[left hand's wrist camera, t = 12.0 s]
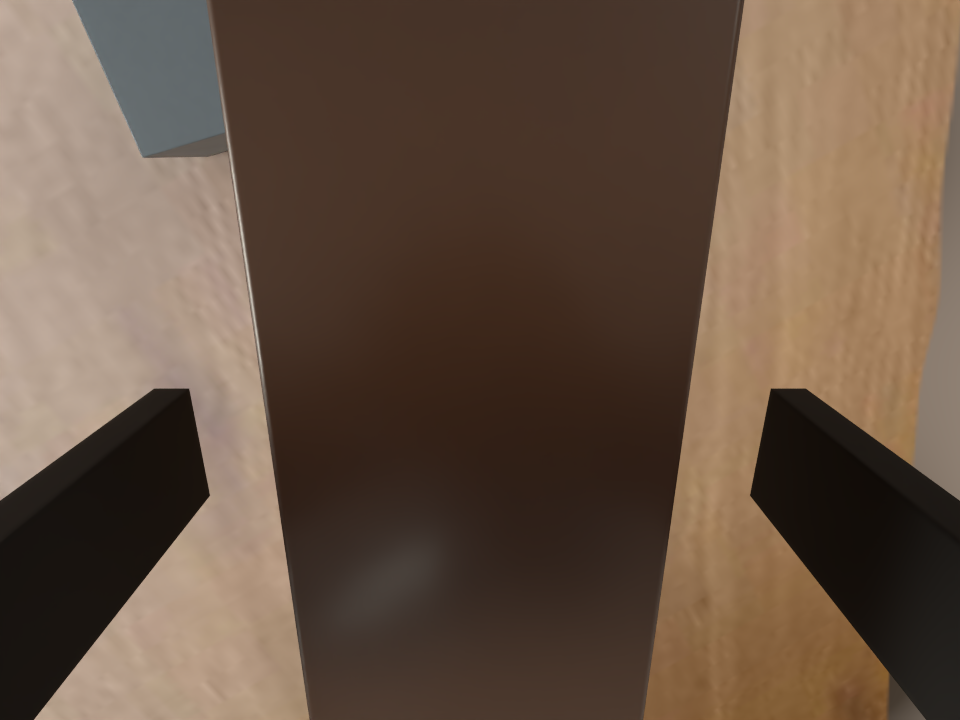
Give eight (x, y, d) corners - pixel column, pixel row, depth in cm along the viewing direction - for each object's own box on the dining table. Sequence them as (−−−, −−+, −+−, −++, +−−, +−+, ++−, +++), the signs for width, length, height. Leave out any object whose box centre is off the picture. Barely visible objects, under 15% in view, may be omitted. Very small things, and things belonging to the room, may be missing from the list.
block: (316, 124, 24) (275, 117, 19) (207, 156, 24) (142, 158, 20) (270, -9, 22) (214, -52, 17) (154, 29, 23) (69, -4, 18)
